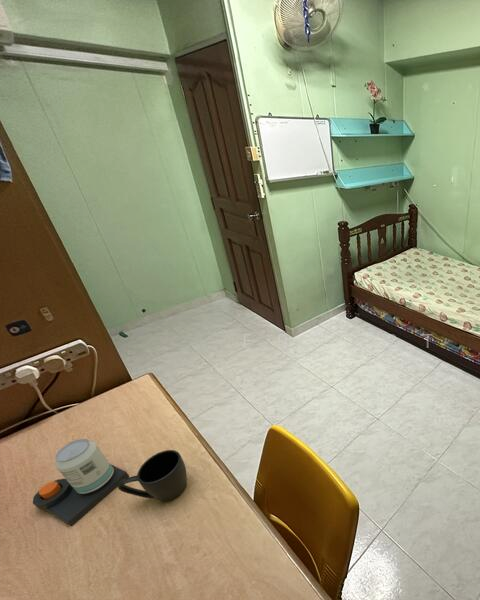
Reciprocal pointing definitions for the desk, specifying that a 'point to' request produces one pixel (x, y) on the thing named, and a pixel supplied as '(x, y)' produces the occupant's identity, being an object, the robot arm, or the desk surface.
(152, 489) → the mug
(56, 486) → the button
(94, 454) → the white supplement bottle
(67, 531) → the desk surface
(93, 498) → the scale
